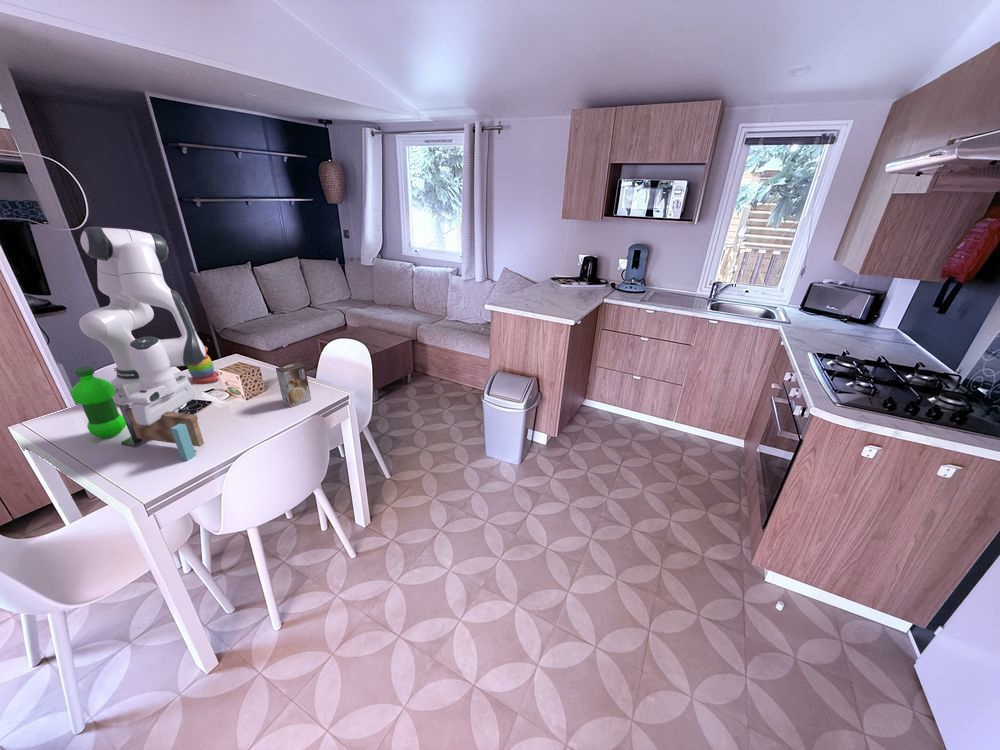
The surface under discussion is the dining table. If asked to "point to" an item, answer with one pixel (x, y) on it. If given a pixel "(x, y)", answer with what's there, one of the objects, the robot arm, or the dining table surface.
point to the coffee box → (293, 384)
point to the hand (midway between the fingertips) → (173, 422)
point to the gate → (168, 427)
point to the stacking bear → (203, 371)
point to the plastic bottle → (97, 404)
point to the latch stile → (183, 441)
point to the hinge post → (130, 430)
